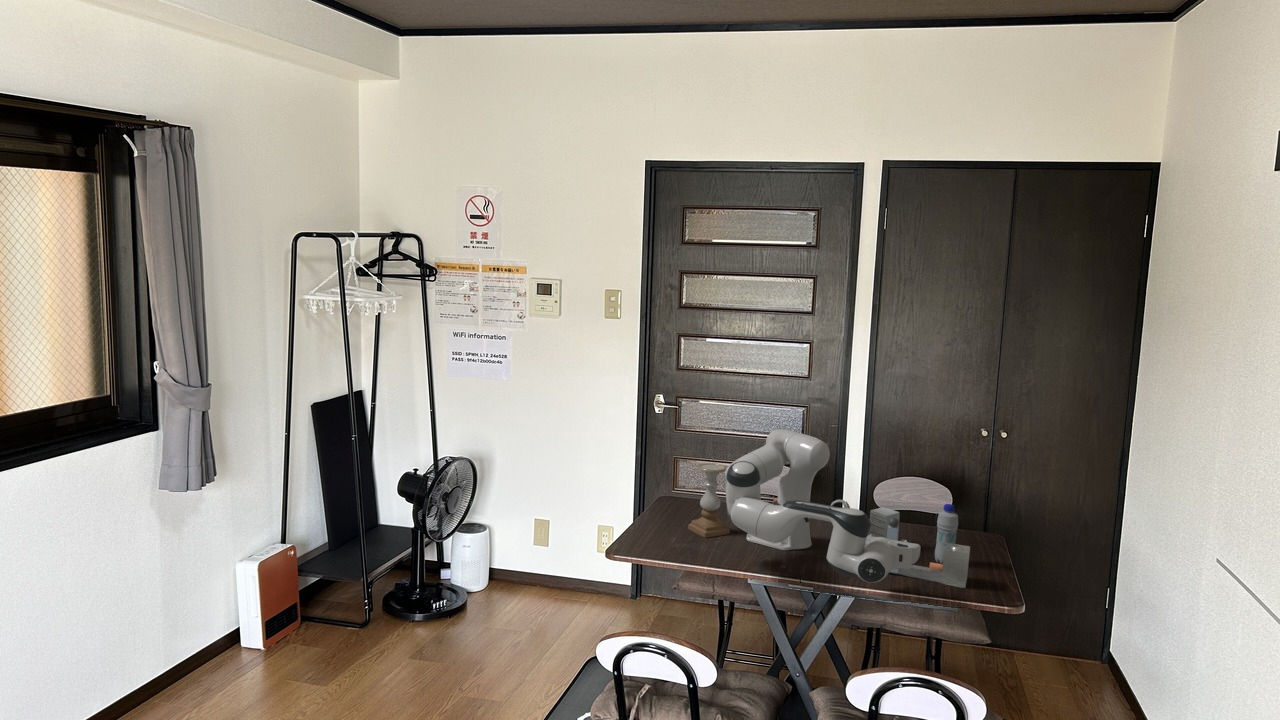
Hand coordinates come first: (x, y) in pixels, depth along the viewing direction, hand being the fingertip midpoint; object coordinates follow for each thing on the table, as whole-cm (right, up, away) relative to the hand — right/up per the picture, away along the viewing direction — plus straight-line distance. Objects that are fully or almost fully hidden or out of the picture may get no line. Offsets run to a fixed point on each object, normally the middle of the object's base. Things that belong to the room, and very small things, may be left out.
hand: (888, 539), depth 260 cm
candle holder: (-51, -7, +45) cm, 68 cm away
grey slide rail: (+12, -14, +11) cm, 21 cm away
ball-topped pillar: (+5, -12, +13) cm, 18 cm away
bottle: (+25, -13, +23) cm, 37 cm away
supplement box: (+9, -10, +37) cm, 40 cm away
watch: (-2, -8, +53) cm, 54 cm away
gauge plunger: (+19, -11, +6) cm, 22 cm away
